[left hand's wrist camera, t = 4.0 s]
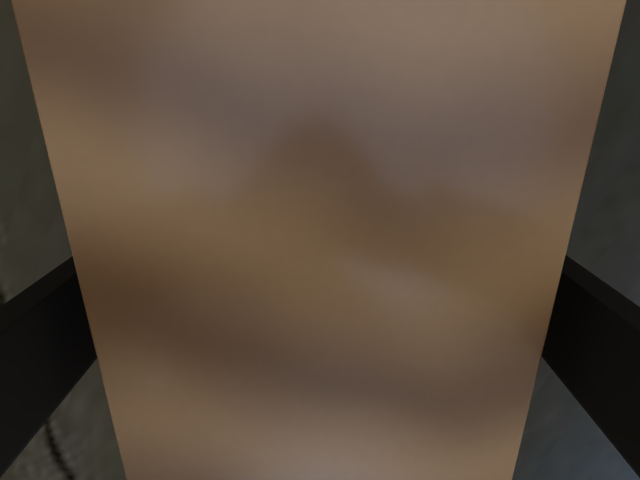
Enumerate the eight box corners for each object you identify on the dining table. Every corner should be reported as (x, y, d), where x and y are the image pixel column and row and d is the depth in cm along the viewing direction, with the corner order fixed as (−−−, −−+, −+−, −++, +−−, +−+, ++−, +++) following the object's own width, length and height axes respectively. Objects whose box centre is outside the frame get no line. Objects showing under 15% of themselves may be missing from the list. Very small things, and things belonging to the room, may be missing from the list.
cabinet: (146, -284, 12) (-284, -1209, 3) (489, -282, 12) (914, -1191, 3) (213, 321, 20) (131, 505, 11) (424, 320, 20) (506, 503, 11)
